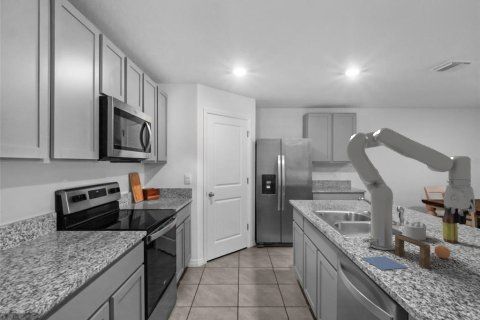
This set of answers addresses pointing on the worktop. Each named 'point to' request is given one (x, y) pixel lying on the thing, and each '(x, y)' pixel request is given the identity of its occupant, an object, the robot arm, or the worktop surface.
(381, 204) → the robot arm
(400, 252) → the bridge
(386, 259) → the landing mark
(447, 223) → the sauce bottle
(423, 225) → the lumpy-topped squat cylinder
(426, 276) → the worktop surface
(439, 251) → the ball
